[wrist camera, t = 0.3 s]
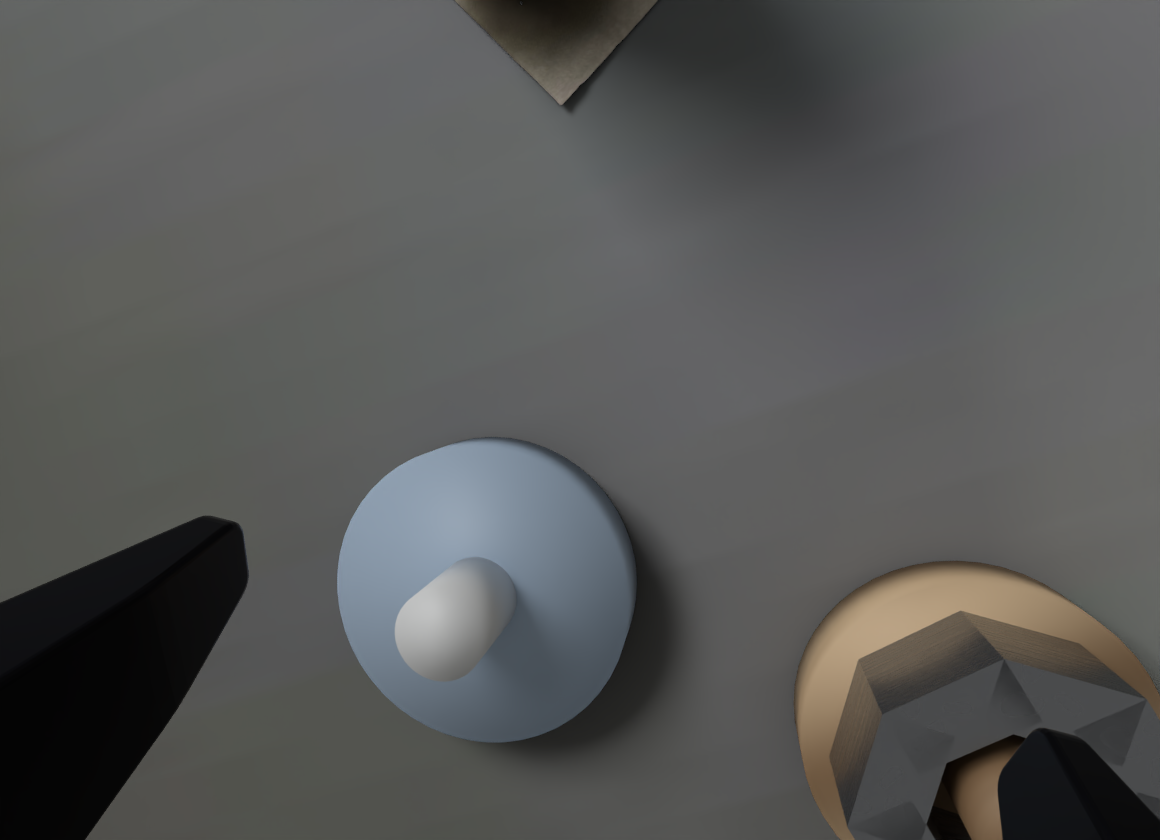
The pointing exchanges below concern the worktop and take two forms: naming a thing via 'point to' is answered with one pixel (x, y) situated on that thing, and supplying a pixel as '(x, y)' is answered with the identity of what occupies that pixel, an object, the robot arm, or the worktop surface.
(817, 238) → the worktop surface
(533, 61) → the condiment
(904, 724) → the ring
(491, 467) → the hub
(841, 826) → the stand
